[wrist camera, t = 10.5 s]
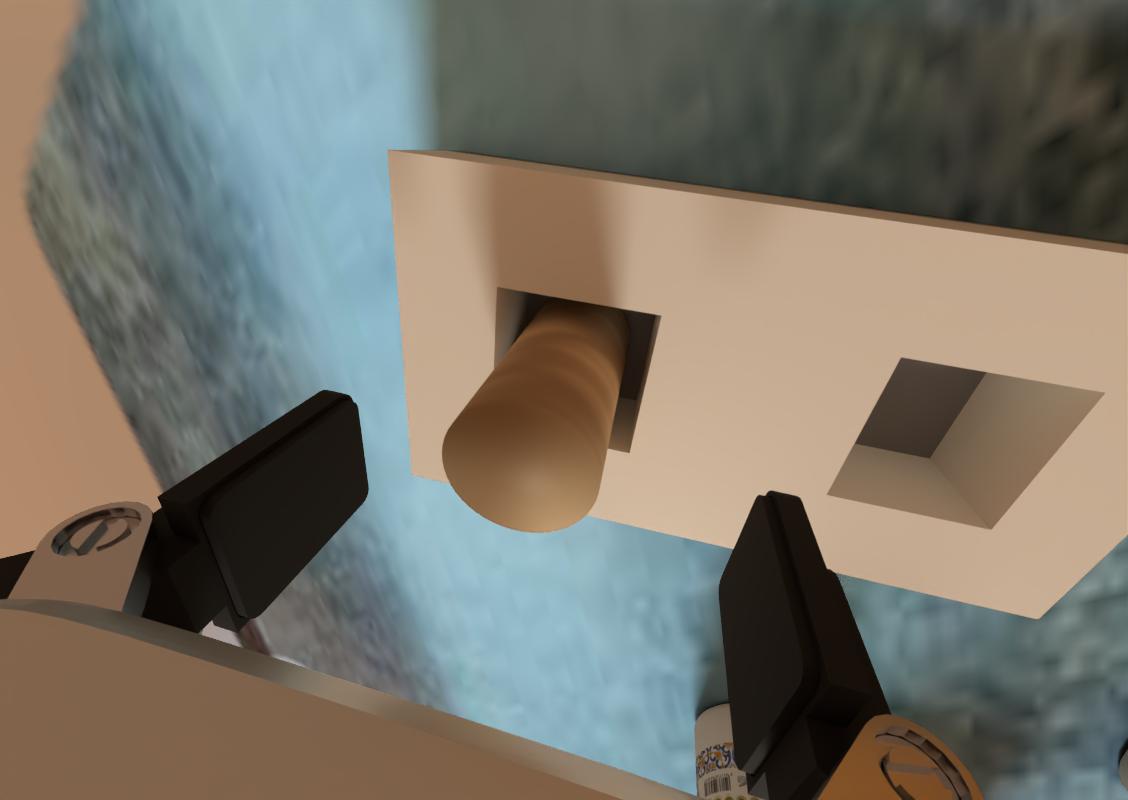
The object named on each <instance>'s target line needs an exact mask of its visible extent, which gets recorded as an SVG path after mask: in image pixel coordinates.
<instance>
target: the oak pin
mask: <svg viewBox="0 0 1128 800" xmlns="http://www.w3.org/2000/svg"><path fill="white" fill-rule="evenodd" d="M629 336H630V335H629V328H628V324H627V321H626V318H625V316H624V315H623V313H622V311H621V310H620V309H619V308H615V307H609V306H604V305H598V304H592V303H586V302H581V301H575V300H569V299H563V298H558V297H552V298H550V299H549V300H548V301H547V302H546V303H545V304H544V305H543V307H542V308H541V309H540V310H539V312H538V313H537V314H536V316H535V317H534V318H533V320H532V321H531V322H530V323H529V325H528V326H527V327H526V329H525V330H524V331H523V332H522V334H521V335H520V336H519V338H518V339H517V340H516V342H515V343H514V344H513V345H512V347H511V348H510V349H509V351H508V352H507V353H506V354H505V356H504V357H503V358H502V360H501V361H500V362H499V364H498V365H497V366H496V367H495V369H494V370H493V371H492V373H491V374H490V375H489V376H488V378H487V379H486V380H485V382H484V383H483V384H482V386H481V387H480V388H479V389H478V391H477V392H476V393H475V395H474V396H473V397H472V398H471V400H470V401H469V402H468V404H467V405H466V406H465V408H464V409H463V410H462V411H461V413H460V414H459V415H458V417H457V418H456V419H455V420H454V422H453V423H452V425H451V426H450V427H449V429H448V431H447V433H446V435H445V437H444V441H443V445H442V462H443V466H444V470H445V473H446V476H447V478H448V480H449V482H450V484H451V486H452V487H453V489H454V490H455V492H456V493H457V494H458V495H459V497H460V498H461V499H462V500H463V501H464V502H465V503H466V504H467V505H468V506H469V507H470V508H472V509H473V510H474V511H475V512H477V513H478V514H480V515H481V516H483V517H484V518H486V519H488V520H490V521H492V522H494V523H496V524H498V525H501V526H503V527H506V528H510V529H513V530H518V531H523V532H532V533H543V532H552V531H557V530H561V529H564V528H567V527H569V526H571V525H573V524H575V523H576V522H578V521H580V520H581V519H582V518H583V517H584V516H586V515H587V514H588V512H589V511H590V510H591V509H592V507H593V505H594V504H595V502H596V500H597V497H598V494H599V489H600V484H601V479H602V475H603V470H604V465H605V460H606V455H607V450H608V445H609V440H610V435H611V430H612V425H613V420H614V415H615V410H616V405H617V400H618V395H619V391H620V386H621V381H622V376H623V371H624V366H625V361H626V356H627V351H628V346H629Z"/></svg>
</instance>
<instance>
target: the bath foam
mask: <svg viewBox="0 0 1128 800" xmlns="http://www.w3.org/2000/svg"><path fill="white" fill-rule="evenodd" d="M695 755H696V781H697V796H698V797H701V798H704V799H706V800H764V799H761V798H758V797H755V796H751V795H748V791H747V782H746V773H745V772H744V771H740V770H738V768H737V766H736V763H735V756H734V746H733V736H732V726H731V715H730V705H729V703H728V704H721V705H717V706H714V707H711V708H709V709H707V710H706V711H704V712H703V713H702V714H701V715H700V716H699V717H698V719H697V721H696V723H695Z"/></svg>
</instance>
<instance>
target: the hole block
mask: <svg viewBox="0 0 1128 800" xmlns="http://www.w3.org/2000/svg"><path fill="white" fill-rule="evenodd" d="M388 162H389V175H390V189H391V202H392V215H393V229H394V242H395V255H396V269H397V282H398V295H399V309H400V322H401V335H402V349H403V362H404V376H405V389H406V402H407V416H408V429H409V442H410V456H411V469H412V475H414V476H419V477H423V478H427V479H432V480H436V481H440V482H445V483H449V484H450V482H449V480H448V478H447V476H446V473H445V470H444V466H443V462H442V445H443V441H444V437H445V435H446V433H447V431H448V429H449V427H450V426H451V425H452V423H453V422H454V420H455V419H456V418H457V417H458V415H459V414H460V413H461V411H462V410H463V409H464V408H465V406H466V405H467V404H468V402H469V401H470V400H471V398H472V397H473V396H474V395H475V393H476V392H477V391H478V389H479V388H480V387H481V386H482V384H483V383H484V382H485V380H486V379H487V378H488V376H489V375H490V374H491V373H492V371H493V370H494V369H495V367H496V366H497V365H498V364H499V362H500V361H501V360H502V358H503V357H504V356H505V354H506V353H507V352H508V351H509V349H510V348H511V347H512V345H513V344H514V343H515V342H516V340H517V339H518V338H519V336H520V335H521V334H522V332H523V331H524V330H525V329H526V327H527V326H528V325H529V323H530V322H531V321H532V320H533V318H534V317H535V316H536V314H537V313H538V312H539V310H540V309H541V308H542V307H543V305H544V304H545V303H546V302H547V301H548V300H549V299H550V298H552V297H558V298H563V299H569V300H575V301H581V302H586V303H592V304H598V305H604V306H609V307H615V308H619V309H620V310H621V311H622V313H623V315H624V316H625V318H626V321H627V324H628V328H629V335H630V336H629V346H628V351H627V356H626V361H625V366H624V371H623V376H622V381H621V386H620V391H619V395H618V400H617V405H616V410H615V415H614V420H613V425H612V430H611V435H610V440H609V445H608V450H607V455H606V460H605V465H604V470H603V475H602V479H601V484H600V489H599V494H598V497H597V500H596V502H595V504H594V505H593V507H592V509H591V510H590V511H589V512H588V514H587V515H588V516H592V517H596V518H601V519H605V520H609V521H614V522H618V523H622V524H627V525H631V526H635V527H640V528H644V529H648V530H653V531H657V532H661V533H666V534H670V535H674V536H679V537H683V538H687V539H692V540H696V541H700V542H705V543H709V544H713V545H718V546H722V547H726V548H731V549H734V547H735V545H736V542H737V540H738V538H739V536H740V533H741V531H742V529H743V526H744V524H745V522H746V519H747V517H748V515H749V512H750V510H751V508H752V506H753V503H754V501H755V499H756V497H757V496H758V495H764V496H765V495H766V494H767V492H768V491H770V490H773V491H777V492H781V493H786V494H790V495H795V496H798V497H800V498H801V500H802V502H803V505H804V508H805V511H806V513H807V516H808V519H809V521H810V524H811V527H812V530H813V532H814V535H815V538H816V540H817V543H818V546H819V549H820V551H821V554H822V557H823V559H824V562H825V565H826V568H827V569H831V570H832V571H833V572H835V573H839V574H843V575H848V576H852V577H856V578H861V579H865V580H869V581H874V582H878V583H882V584H887V585H891V586H895V587H900V588H904V589H908V590H913V591H917V592H921V593H926V594H930V595H934V596H939V597H943V598H947V599H952V600H956V601H960V602H965V603H969V604H973V605H978V606H982V607H986V608H991V609H995V610H999V611H1004V612H1008V613H1012V614H1017V615H1021V616H1025V617H1030V618H1034V619H1039V618H1040V617H1041V616H1042V615H1043V614H1044V613H1045V612H1047V611H1048V610H1049V609H1050V608H1051V607H1052V606H1053V605H1054V604H1055V603H1056V602H1057V601H1058V600H1059V599H1060V598H1061V597H1062V596H1063V595H1064V594H1066V593H1067V592H1068V591H1069V590H1070V589H1071V588H1072V587H1073V586H1074V585H1075V584H1076V583H1077V582H1078V581H1079V580H1080V579H1081V578H1082V577H1083V576H1085V575H1086V574H1087V573H1088V572H1089V571H1090V570H1091V569H1092V568H1093V567H1094V566H1095V565H1096V564H1097V563H1098V562H1099V561H1100V560H1101V559H1102V558H1104V557H1105V556H1106V555H1107V554H1108V553H1109V552H1110V551H1111V550H1112V549H1113V548H1114V547H1115V546H1116V545H1117V544H1118V543H1119V542H1120V541H1121V540H1123V539H1124V538H1125V537H1126V536H1127V535H1128V244H1127V243H1120V242H1113V241H1106V240H1098V239H1091V238H1084V237H1077V236H1069V235H1062V234H1055V233H1048V232H1041V231H1033V230H1026V229H1019V228H1012V227H1004V226H997V225H990V224H983V223H975V222H968V221H961V220H954V219H947V218H939V217H932V216H925V215H918V214H910V213H903V212H896V211H889V210H881V209H874V208H867V207H860V206H853V205H845V204H838V203H831V202H824V201H816V200H809V199H802V198H795V197H787V196H780V195H773V194H766V193H759V192H751V191H744V190H737V189H730V188H722V187H715V186H708V185H701V184H694V183H686V182H679V181H672V180H665V179H657V178H650V177H643V176H636V175H628V174H621V173H614V172H607V171H600V170H592V169H585V168H578V167H571V166H563V165H556V164H549V163H542V162H534V161H527V160H520V159H513V158H506V157H498V156H491V155H484V154H477V153H469V152H462V151H428V150H388Z"/></svg>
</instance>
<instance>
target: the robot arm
mask: <svg viewBox="0 0 1128 800" xmlns="http://www.w3.org/2000/svg"><path fill="white" fill-rule="evenodd" d="M368 490H369V489H368V480H367V472H366V464H365V457H364V449H363V442H362V434H361V427H360V419H359V412H358V406H357V404H356V403H354V402H353V400H352V398H351V397H350V396H349V395H347V394H343V393H338V392H334V391H329V390H323V391H320V392H319V393H317V394H315V395H314V396H312V397H311V398H309V399H308V400H306V401H305V402H303V403H302V404H300V405H299V406H297V407H295V408H294V409H292V410H291V411H289V412H288V413H286V414H285V415H283V416H282V417H280V418H278V419H277V420H275V421H274V422H272V423H271V424H269V425H268V426H266V427H265V428H263V429H261V430H260V431H258V432H257V433H255V434H254V435H252V436H251V437H249V438H248V439H246V440H245V441H243V442H241V443H240V444H238V445H237V446H235V447H234V448H232V449H231V450H229V451H228V452H226V453H224V454H223V455H221V456H220V457H218V458H217V459H215V460H214V461H212V462H211V463H209V464H207V465H206V466H204V467H203V468H201V469H200V470H198V471H197V472H195V473H194V474H192V475H191V476H189V477H187V478H186V479H184V480H183V481H181V482H180V483H178V484H177V485H175V486H174V487H172V488H170V489H169V490H167V491H166V492H164V493H163V494H161V495H160V496H158V499H159V502H160V504H161V506H162V508H160V509H159V510H157V511H156V512H154V513H153V512H152V511H151V510H150V508H149V507H148V506H146V505H144V504H141V503H139V502H117V503H110V504H106V505H102V506H97V507H94V508H91V509H88V510H86V511H83V512H81V513H78V514H76V515H74V516H72V517H70V518H69V519H67V520H65V521H63V522H61V523H60V524H58V525H57V526H56V527H54V528H53V529H52V530H50V531H49V532H48V533H47V534H46V536H45V537H44V538H43V539H42V540H41V541H40V543H39V545H38V546H37V548H36V550H34V551H30V552H26V553H22V554H18V555H15V556H10V557H6V558H2V559H0V800H706V799H704V798H701V797H698V796H695V795H692V794H689V793H686V792H683V791H681V790H678V789H675V788H672V787H669V786H666V785H663V784H660V783H658V782H655V781H652V780H649V779H646V778H643V777H640V776H637V775H635V774H632V773H629V772H626V771H623V770H620V769H617V768H614V767H611V766H608V765H605V764H602V763H599V762H596V761H592V760H589V759H586V758H583V757H580V756H577V755H574V754H571V753H568V752H565V751H562V750H559V749H556V748H553V747H550V746H547V745H544V744H541V743H537V742H534V741H531V740H528V739H525V738H522V737H519V736H516V735H513V734H510V733H507V732H504V731H501V730H498V729H495V728H492V727H489V726H486V725H482V724H479V723H476V722H473V721H470V720H467V719H464V718H461V717H458V716H455V715H451V714H448V713H445V712H442V711H439V710H436V709H433V708H430V707H427V706H424V705H420V704H417V703H414V702H411V701H408V700H405V699H402V698H399V697H396V696H392V695H389V694H386V693H383V692H380V691H377V690H374V689H371V688H367V687H364V686H361V685H358V684H355V683H352V682H349V681H346V680H342V679H339V678H336V677H333V676H330V675H327V674H324V673H321V672H318V671H314V670H311V669H308V668H305V667H302V666H298V665H295V664H292V663H289V662H286V661H283V660H279V659H276V658H273V657H270V656H267V655H263V654H260V653H257V652H254V651H251V650H248V649H244V648H241V647H238V646H235V645H232V644H229V643H225V642H222V641H219V640H216V639H213V638H209V637H206V636H203V635H202V631H203V628H204V627H205V626H206V625H207V624H208V623H209V622H210V621H211V620H212V621H213V623H214V625H215V626H218V627H221V628H224V629H227V630H230V631H233V632H237V633H238V632H239V631H240V630H241V629H242V627H243V626H244V625H245V624H246V623H247V622H248V621H249V620H250V619H253V618H256V617H258V616H259V615H261V614H262V613H263V612H264V611H265V610H266V609H267V607H268V606H269V605H270V604H271V603H272V602H273V601H274V600H275V599H276V598H277V597H278V595H279V594H280V593H281V592H282V591H283V590H284V589H285V588H286V587H287V586H288V585H289V583H290V582H291V581H292V580H293V579H294V578H295V577H296V576H297V575H298V574H299V572H300V571H301V570H302V569H303V568H304V567H305V566H306V565H307V564H308V563H309V562H310V560H311V559H312V558H313V557H314V556H315V555H316V554H317V553H318V552H319V551H320V550H321V548H322V547H323V546H324V545H325V544H326V543H327V542H328V541H329V540H330V539H331V538H332V536H333V535H334V534H335V533H336V532H337V531H338V530H339V529H340V528H341V527H342V525H343V524H344V523H345V522H346V521H347V520H348V519H349V518H350V517H351V516H352V515H353V513H354V512H355V511H356V510H357V509H358V508H359V507H360V506H361V505H362V504H363V502H364V501H365V499H366V497H367V495H368ZM719 603H720V613H721V623H722V633H723V644H724V654H725V664H726V674H727V685H728V695H729V705H730V715H731V726H732V736H733V746H734V756H735V763H736V766H737V768H738V770H740V771H744V772H745V773H746V782H747V791H748V795H751V796H755V797H758V798H761V799H764V800H984V797H983V795H982V793H981V791H980V789H979V787H978V786H977V784H976V782H975V780H974V778H973V776H972V775H971V774H970V772H969V771H968V770H967V768H966V767H965V766H964V765H963V763H962V762H961V761H960V759H959V758H958V757H957V756H956V755H955V754H954V753H953V752H952V751H951V750H950V749H949V748H948V747H947V746H946V745H945V744H944V743H943V742H942V741H941V740H940V739H939V738H937V737H936V736H934V735H933V734H932V733H930V732H929V731H927V730H926V729H925V728H923V727H922V726H920V725H918V724H916V723H914V722H912V721H910V720H907V719H905V718H903V717H899V716H894V715H891V712H890V710H889V707H888V705H887V702H886V699H885V697H884V694H883V692H882V689H881V687H880V684H879V681H878V679H877V676H876V674H875V671H874V669H873V666H872V663H871V661H870V658H869V656H868V653H867V651H866V648H865V645H864V643H863V640H862V638H861V635H860V632H859V630H858V627H857V625H856V622H855V620H854V617H853V614H852V612H851V609H850V607H849V604H848V602H847V599H846V596H845V594H844V591H843V589H842V586H841V583H840V581H839V579H838V577H837V575H836V574H835V573H834V572H833V571H832V570H831V569H827V568H826V565H825V562H824V559H823V557H822V554H821V551H820V549H819V546H818V543H817V540H816V538H815V535H814V532H813V530H812V527H811V524H810V521H809V519H808V516H807V513H806V511H805V508H804V505H803V502H802V500H801V498H800V497H798V496H795V495H790V494H786V493H781V492H777V491H773V490H770V491H768V492H767V494H766V495H765V496H764V495H758V496H757V497H756V499H755V501H754V503H753V506H752V508H751V510H750V512H749V515H748V517H747V519H746V522H745V524H744V526H743V529H742V531H741V533H740V536H739V538H738V540H737V542H736V545H735V547H734V549H733V552H732V554H731V556H730V559H729V561H728V563H727V565H726V568H725V570H724V572H723V575H722V577H721V580H720V584H719ZM1119 776H1120V779H1121V782H1122V784H1123V786H1124V787H1125V788H1126V790H1127V791H1128V749H1127V751H1126V753H1125V754H1124V756H1123V757H1122V759H1121V761H1120V766H1119Z"/></svg>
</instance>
